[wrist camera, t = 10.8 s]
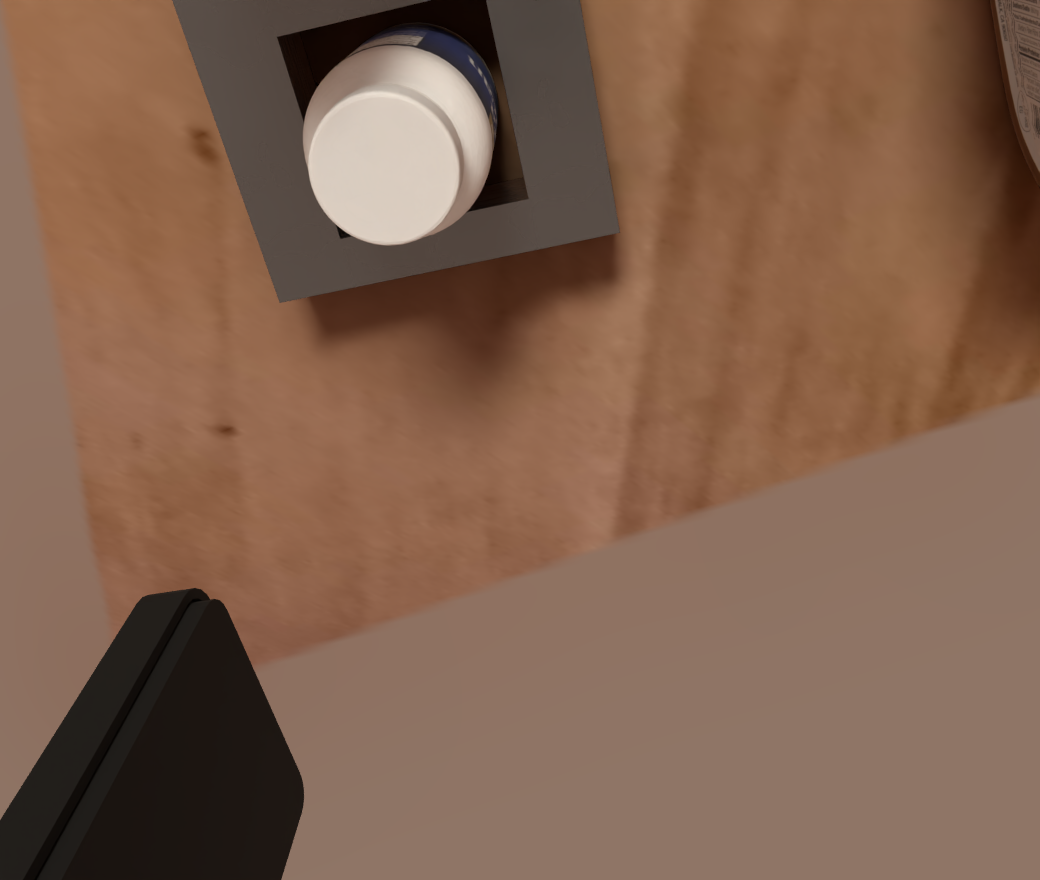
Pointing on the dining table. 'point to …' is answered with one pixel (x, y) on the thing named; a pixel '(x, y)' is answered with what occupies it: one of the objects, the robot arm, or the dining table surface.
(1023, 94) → the tin
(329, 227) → the socket block
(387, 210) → the pill bottle
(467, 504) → the dining table surface
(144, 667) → the robot arm
